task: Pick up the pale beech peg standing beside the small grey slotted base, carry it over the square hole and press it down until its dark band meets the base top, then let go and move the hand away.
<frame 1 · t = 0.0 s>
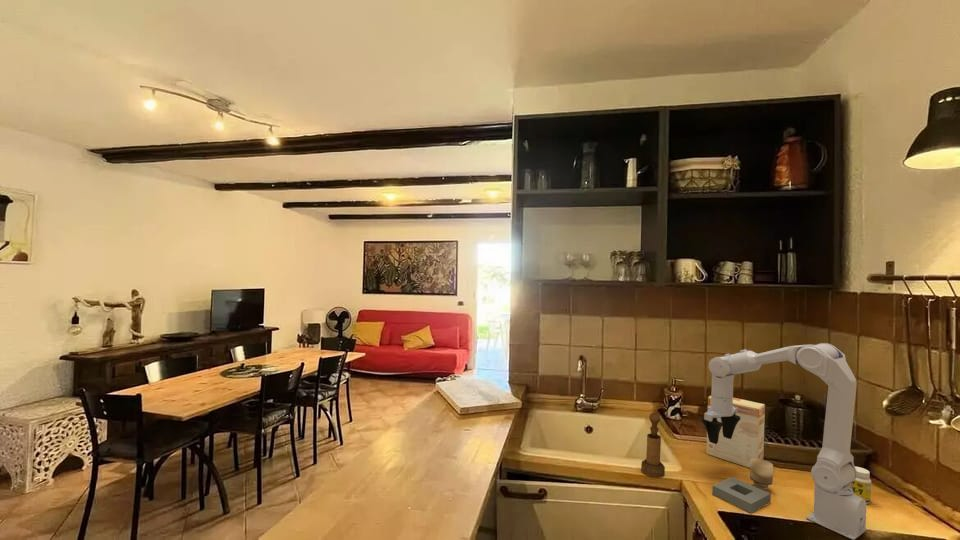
hand: (720, 440, 127), 10 cm above the table, tool pointing down, fingers open, 7 cm apart
grey slotted base: (740, 498, 114), on the table
beech peg: (760, 488, 119), on the table
supplement bottle: (858, 500, 115), on the table
coffeecake box: (733, 459, 137), on the table
mortar and pestle: (652, 472, 127), on the table
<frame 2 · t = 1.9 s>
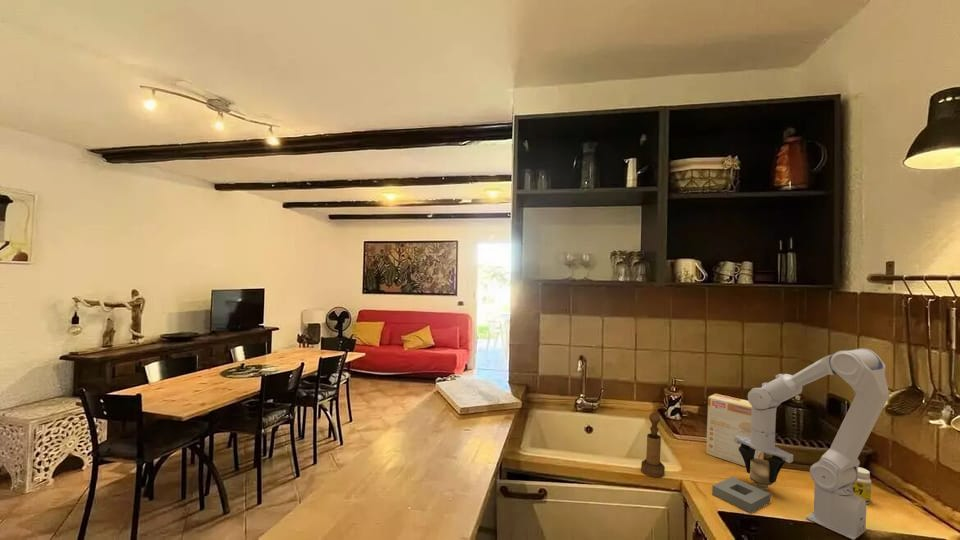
hand: (761, 477, 119), 3 cm above the table, tool pointing down, fingers closed on beech peg, 5 cm apart
beech peg: (760, 488, 119), on the table, touching gripper
everything else where it was.
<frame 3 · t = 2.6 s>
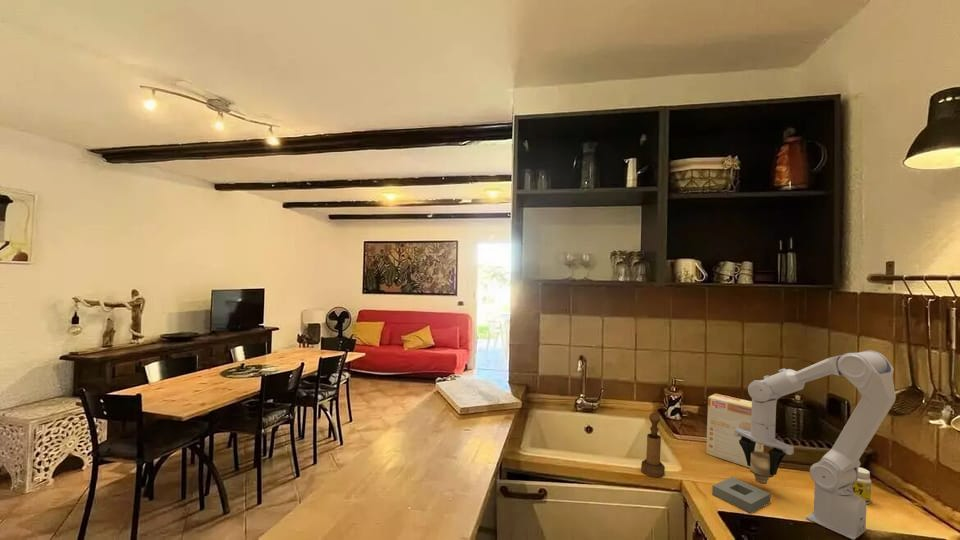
hand: (761, 469, 119), 6 cm above the table, tool pointing down, fingers closed on beech peg, 5 cm apart
beech peg: (761, 481, 119), point 2 cm above the table, touching gripper
everything else where it was.
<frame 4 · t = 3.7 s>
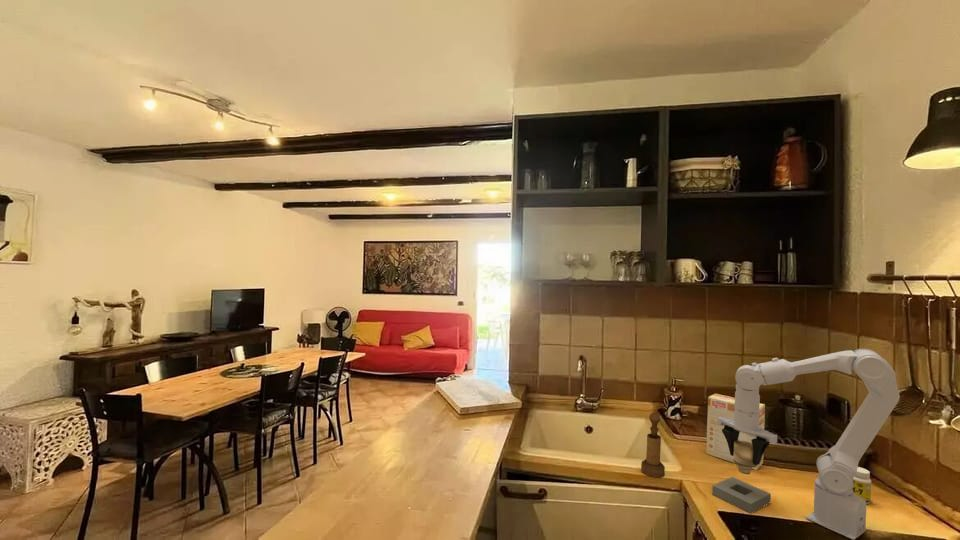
hand: (744, 459, 114), 10 cm above the table, tool pointing down, fingers closed on beech peg, 5 cm apart
beech peg: (744, 471, 114), point 7 cm above the table, touching gripper
everything else where it was.
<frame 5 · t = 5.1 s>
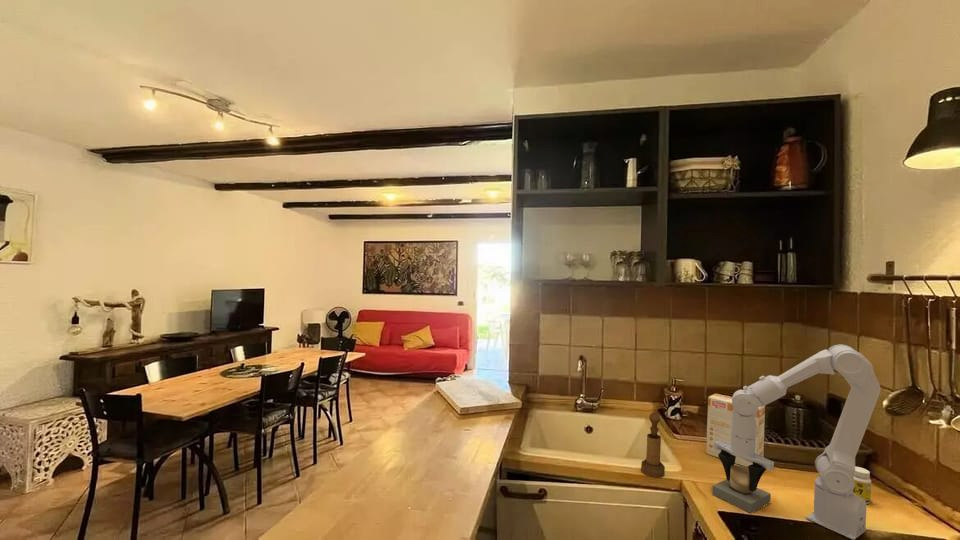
hand: (741, 484, 114), 4 cm above the table, tool pointing down, fingers closed on beech peg, 5 cm apart
beech peg: (740, 497, 114), resting in grey slotted base, touching gripper
everything else where it was.
when the fingers open (3 cm above the table, at t = 5.8 s): beech peg stays where it is, resting on grey slotted base.
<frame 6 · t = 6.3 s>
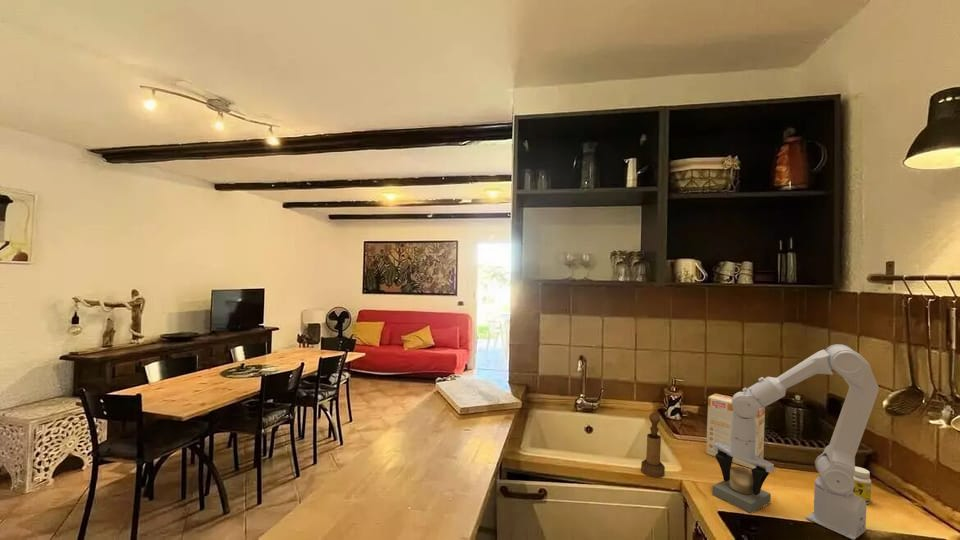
hand: (741, 486, 114), 3 cm above the table, tool pointing down, fingers open, 7 cm apart
beech peg: (740, 498, 114), resting on grey slotted base
everything else where it was.
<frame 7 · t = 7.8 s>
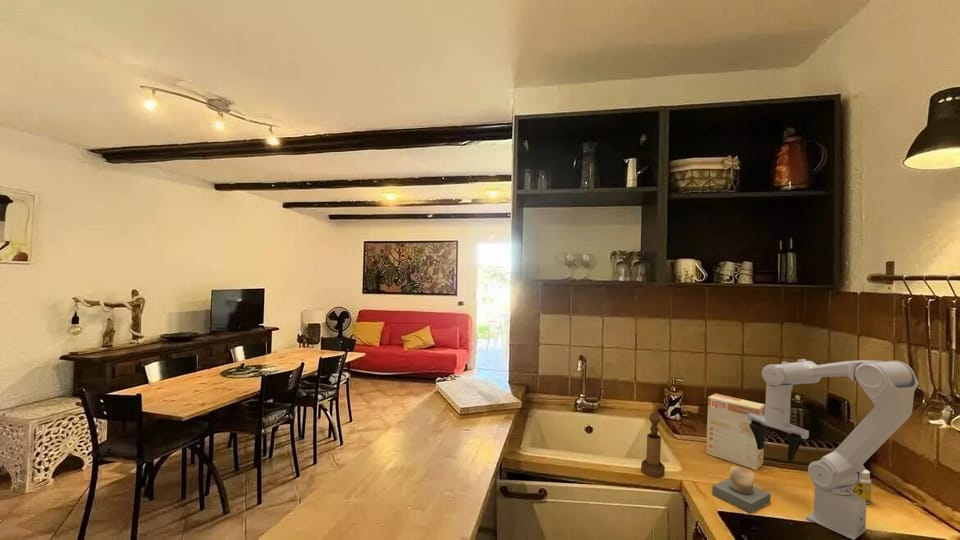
hand: (775, 454, 118), 10 cm above the table, tool pointing down, fingers open, 7 cm apart
nothing on the table moved.
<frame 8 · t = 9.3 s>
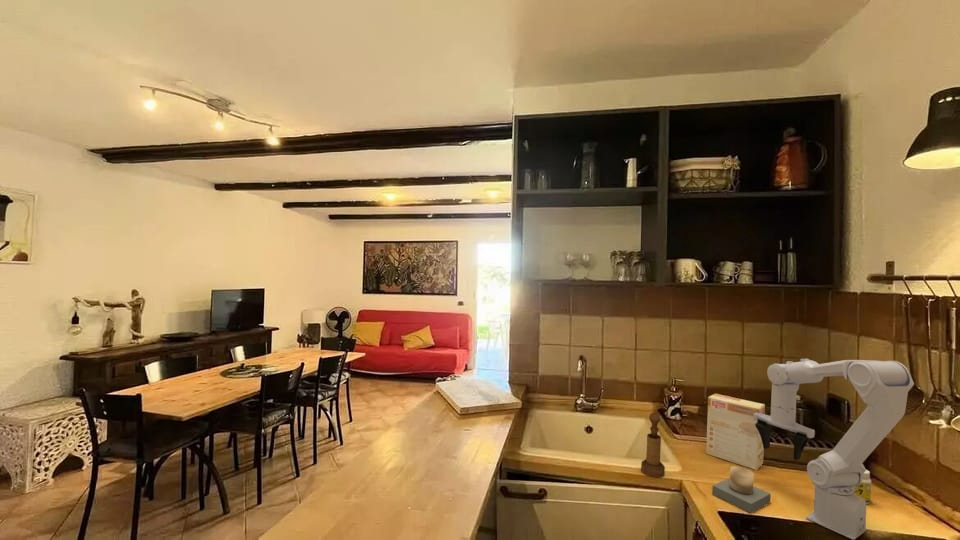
hand: (781, 453, 119), 10 cm above the table, tool pointing down, fingers open, 7 cm apart
nothing on the table moved.
at the end: beech peg 0.0 cm off-centre on the grey slotted base, point 0.0 cm above the grey slotted base's base; beech peg tilted 0°; the gripper is holding nothing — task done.
